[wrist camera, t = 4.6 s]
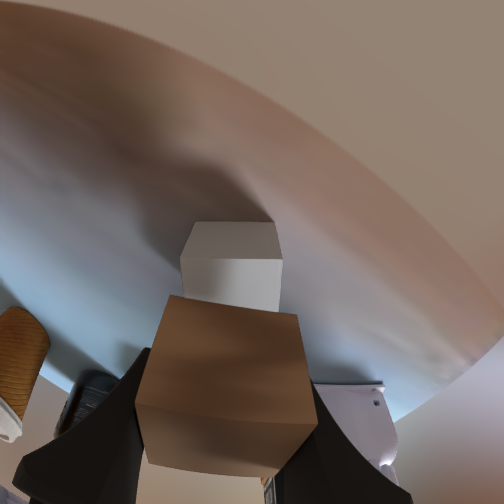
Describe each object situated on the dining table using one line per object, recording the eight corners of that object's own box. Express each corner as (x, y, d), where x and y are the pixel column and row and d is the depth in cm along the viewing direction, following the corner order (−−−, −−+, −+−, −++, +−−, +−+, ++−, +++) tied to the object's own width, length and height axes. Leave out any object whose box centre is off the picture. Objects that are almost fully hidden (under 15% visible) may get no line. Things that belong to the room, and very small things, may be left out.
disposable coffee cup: (36, 291, 21) (-34, 385, 10) (76, 365, 25) (36, 456, 15) (-15, 293, 21) (-74, 363, 11) (22, 357, 26) (-19, 429, 15)
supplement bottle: (68, 375, 26) (32, 459, 16) (99, 361, 25) (58, 462, 14) (111, 409, 29) (86, 491, 18) (146, 399, 28) (123, 496, 17)
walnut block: (296, 314, 11) (318, 423, 7) (267, 388, 14) (272, 477, 9) (170, 294, 11) (134, 402, 7) (167, 374, 13) (148, 463, 9)
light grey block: (274, 221, 19) (282, 259, 14) (270, 287, 21) (276, 335, 17) (195, 221, 19) (179, 258, 14) (200, 287, 21) (189, 334, 16)
